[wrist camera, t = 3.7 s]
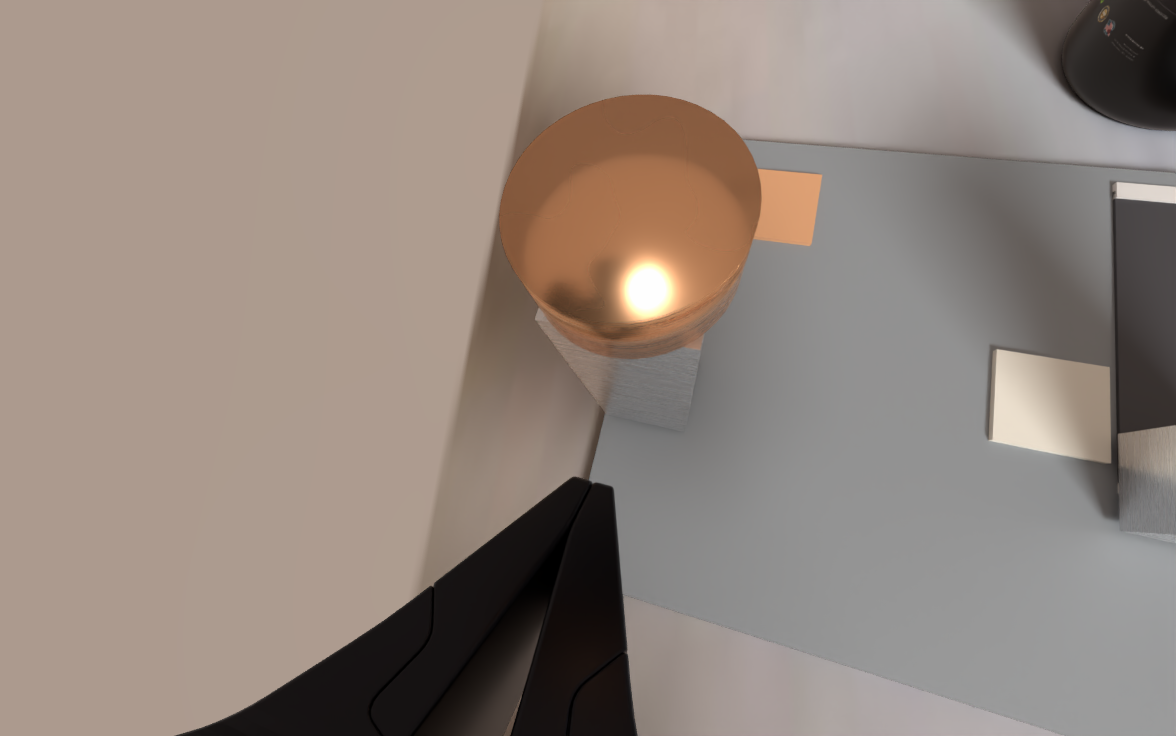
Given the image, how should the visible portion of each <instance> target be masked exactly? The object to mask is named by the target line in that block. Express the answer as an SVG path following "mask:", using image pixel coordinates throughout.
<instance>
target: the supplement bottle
mask: <svg viewBox="0 0 1176 736" xmlns="http://www.w3.org/2000/svg"><path fill="white" fill-rule="evenodd" d="M1062 66H1063V71H1064V74H1065V77H1066V79H1067V81H1068V83H1069V85H1070V86H1071V88H1072V89H1073V91H1074V92H1075V93H1076V94H1077V95H1078V96H1079V97H1080V98H1081V99H1082V100H1083V101H1084V102H1085V103H1086V104H1088V105H1089V106H1090V107H1092V108H1093V109H1095V110H1096V111H1098V112H1100V113H1102V114H1103V115H1105V116H1107V117H1110V118H1112V119H1114V120H1117V121H1119V122H1122V123H1125V124H1129V125H1132V126H1136V127H1141V128H1146V129H1153V130H1164V131H1176V0H1091V1H1090V2H1089V3H1088V5H1087V6H1086V7H1085V8H1084V10H1083V11H1082V12H1081V13H1080V15H1079V16H1078V17H1077V19H1076V20H1075V22H1074V23H1073V24H1072V26H1071V28H1070V29H1069V31H1068V33H1067V36H1066V38H1065V41H1064V44H1063V49H1062Z"/></svg>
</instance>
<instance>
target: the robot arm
mask: <svg viewBox="0 0 1176 736" xmlns="http://www.w3.org/2000/svg"><path fill="white" fill-rule="evenodd" d="M522 692H523V694H522ZM521 695H522V697H521ZM520 697H521V701H520V704H519V708H518V711H517V715H516V718H515V722H514V725H513V729H512V732H511V736H638V735H637V729H636V724H635V718H634V709H633V701H632V692H631V683H630V672H629V660H628V655H627V639H626V627H625V615H624V603H623V591H622V579H621V567H620V555H619V543H618V531H617V519H616V507H615V495H614V488H613V487H612V486H610V485H606V484H602V483H598V482H595V483H592V482H591V481H590V480H587V479H583V478H579V477H572V478H570V479H569V480H568V481H566V482H565V483H564V484H562V485H561V486H560V487H558V488H557V489H556V490H555V491H553V492H552V493H551V494H549V495H548V496H547V497H545V498H544V499H543V500H542V501H540V502H539V503H538V504H536V505H535V506H534V507H532V508H531V509H530V510H529V511H527V512H526V513H525V514H523V515H522V516H521V517H519V518H518V519H517V520H516V521H514V522H513V523H512V524H510V525H509V526H508V527H506V528H505V529H504V530H503V531H501V532H500V533H499V534H497V535H496V536H495V537H493V538H492V539H491V540H490V541H488V542H487V543H486V544H484V545H483V546H482V547H480V548H479V549H478V550H477V551H475V552H474V553H473V554H471V555H470V556H469V557H467V558H466V559H465V560H464V561H462V562H461V563H460V564H458V565H457V566H456V567H454V568H453V569H452V570H451V571H449V572H448V573H447V574H445V575H444V576H443V577H441V578H440V579H439V580H438V581H436V582H435V583H434V588H433V586H429V587H428V588H427V589H426V590H424V591H423V592H422V593H420V594H419V595H418V596H416V597H415V598H414V599H413V600H411V601H410V602H409V603H407V604H406V605H405V606H403V607H402V608H400V609H399V610H398V611H396V612H395V613H393V614H392V615H391V616H389V617H388V618H387V619H385V620H384V621H382V622H381V623H379V624H378V625H377V626H375V627H374V628H372V629H370V630H369V631H367V632H366V633H364V634H363V635H361V636H360V637H358V638H357V639H355V640H354V641H352V642H351V643H349V644H348V645H346V646H345V647H343V648H341V649H340V650H338V651H337V652H335V653H334V654H332V655H330V656H329V657H327V658H326V659H324V660H323V661H321V662H319V663H318V664H316V665H315V666H313V667H312V668H310V669H308V670H307V671H305V672H304V673H302V674H301V675H299V676H297V677H296V678H294V679H293V680H291V681H290V682H288V683H286V684H285V685H283V686H282V687H280V688H278V689H277V690H275V691H274V692H272V693H271V694H269V695H268V696H266V697H264V698H263V699H261V700H259V701H257V702H256V703H254V704H252V705H250V706H249V707H247V708H245V709H243V710H241V711H239V712H237V713H236V714H233V715H231V716H229V717H227V718H224V719H222V720H220V721H218V722H216V723H212V724H210V725H208V726H205V727H202V728H199V729H196V730H193V731H190V732H186V733H183V734H179V735H176V736H503V735H504V733H505V730H506V728H507V726H508V724H509V721H510V719H511V717H512V715H513V713H514V710H515V708H516V706H517V704H518V701H519V699H520Z"/></svg>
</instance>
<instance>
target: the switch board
mask: <svg viewBox="0 0 1176 736" xmlns="http://www.w3.org/2000/svg"><path fill="white" fill-rule="evenodd" d="M743 141H744V142H745V144H746V146H747V147H748V149H749V151H750V152H751V154H752V156H753V159H754V161H755V164H756V166H757V169H758V173H759V178H760V182H761V195H762V202H761V211H760V217H759V221H758V225H757V228H756V232H755V235H754V238H753V242H752V245H751V248H750V251H749V255H748V258H747V261H746V264H745V267H744V271H743V274H742V277H741V280H740V283H739V287H738V289H737V291H736V294H735V296H734V298H733V300H732V302H731V303H730V305H729V307H728V308H727V310H726V312H725V313H724V314H723V315H722V316H721V318H720V319H719V320H718V321H717V322H716V323H715V324H714V325H713V326H712V327H711V328H710V329H709V330H708V331H707V332H706V333H705V335H704V340H703V345H702V350H701V355H700V360H699V365H698V370H697V375H696V380H695V385H694V390H693V394H692V399H691V404H690V409H689V414H688V419H687V424H686V429H685V432H682V431H678V430H673V429H669V428H665V427H660V426H656V425H651V424H647V423H643V422H638V421H634V420H629V419H625V418H621V417H616V416H612V415H607V414H606V413H605V416H604V420H603V424H602V428H601V432H600V436H599V441H598V445H597V449H596V453H595V457H594V461H593V465H592V469H591V473H590V477H589V480H590V481H591V482H592V483H595V482H598V483H602V484H606V485H610V486H612V487H613V488H614V495H615V507H616V519H617V531H618V543H619V555H620V567H621V579H622V591H623V595H626V596H629V597H632V598H635V599H638V600H641V601H645V602H648V603H651V604H654V605H657V606H660V607H663V608H666V609H670V610H673V611H676V612H679V613H682V614H685V615H688V616H692V617H695V618H698V619H701V620H704V621H707V622H710V623H713V624H717V625H720V626H723V627H726V628H729V629H732V630H735V631H739V632H742V633H745V634H748V635H751V636H754V637H757V638H760V639H764V640H767V641H770V642H773V643H776V644H779V645H782V646H785V647H789V648H792V649H795V650H798V651H801V652H804V653H807V654H811V655H814V656H817V657H820V658H823V659H826V660H829V661H832V662H836V663H839V664H842V665H845V666H848V667H851V668H854V669H857V670H861V671H864V672H867V673H870V674H873V675H876V676H879V677H883V678H886V679H889V680H892V681H895V682H898V683H901V684H904V685H908V686H911V687H914V688H917V689H920V690H923V691H926V692H929V693H933V694H936V695H939V696H942V697H945V698H948V699H951V700H955V701H958V702H961V703H964V704H967V705H970V706H973V707H976V708H980V709H983V710H986V711H989V712H992V713H995V714H998V715H1002V716H1005V717H1008V718H1011V719H1014V720H1017V721H1020V722H1023V723H1027V724H1030V725H1033V726H1036V727H1039V728H1042V729H1045V730H1048V731H1052V732H1055V733H1058V734H1061V735H1064V736H1176V544H1175V543H1170V542H1166V541H1162V540H1157V539H1153V538H1148V537H1144V536H1140V535H1135V534H1131V533H1126V532H1122V531H1120V527H1119V471H1118V434H1121V433H1127V432H1134V431H1141V430H1147V429H1154V428H1161V427H1167V426H1174V425H1176V173H1171V172H1157V171H1144V170H1131V169H1118V168H1105V167H1092V166H1079V165H1066V164H1053V163H1040V162H1027V161H1014V160H1001V159H988V158H975V157H962V156H949V155H936V154H923V153H910V152H896V151H883V150H870V149H857V148H844V147H831V146H818V145H805V144H792V143H779V142H766V141H753V140H743Z"/></svg>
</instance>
